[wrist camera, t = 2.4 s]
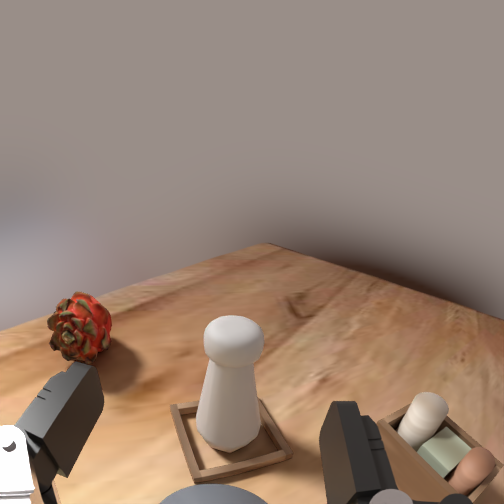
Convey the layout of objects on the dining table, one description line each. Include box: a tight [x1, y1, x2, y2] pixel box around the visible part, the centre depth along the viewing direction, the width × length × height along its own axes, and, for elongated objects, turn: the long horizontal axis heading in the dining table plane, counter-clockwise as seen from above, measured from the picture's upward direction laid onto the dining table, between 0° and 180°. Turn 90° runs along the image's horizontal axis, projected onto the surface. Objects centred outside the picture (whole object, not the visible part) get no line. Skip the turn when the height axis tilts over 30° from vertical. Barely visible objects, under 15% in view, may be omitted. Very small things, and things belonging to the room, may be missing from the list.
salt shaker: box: [196, 315, 264, 453], centre depth 23 cm, size 6×6×13 cm
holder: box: [170, 397, 293, 483], centre depth 25 cm, size 9×9×1 cm
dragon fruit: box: [47, 292, 112, 364], centre depth 33 cm, size 8×8×12 cm
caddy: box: [376, 392, 504, 503], centre depth 17 cm, size 6×11×9 cm, turn 23°
